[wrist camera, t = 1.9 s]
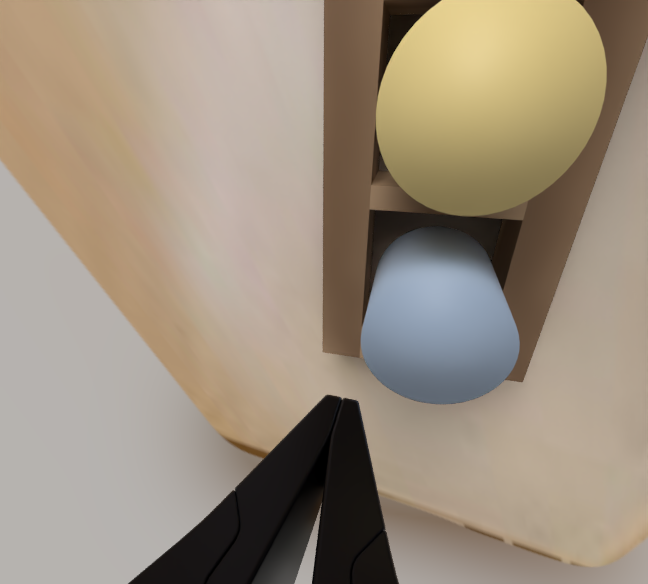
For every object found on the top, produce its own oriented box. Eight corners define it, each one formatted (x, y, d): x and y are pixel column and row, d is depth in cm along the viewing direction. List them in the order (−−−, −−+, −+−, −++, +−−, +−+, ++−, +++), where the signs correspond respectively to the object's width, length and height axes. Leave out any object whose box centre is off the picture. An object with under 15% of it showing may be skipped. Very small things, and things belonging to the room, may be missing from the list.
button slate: (506, 231, 15) (540, 291, 10) (479, 333, 17) (498, 415, 13) (380, 221, 16) (365, 272, 11) (372, 319, 18) (357, 391, 14)
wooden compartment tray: (769, -472, 9) (916, -706, 6) (510, 345, 20) (522, 382, 18) (349, -372, 11) (326, -517, 8) (334, 321, 22) (322, 352, 20)
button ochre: (562, 13, 11) (648, -30, 7) (519, 180, 14) (562, 223, 9) (397, 18, 12) (384, -18, 8) (384, 173, 15) (369, 209, 10)
